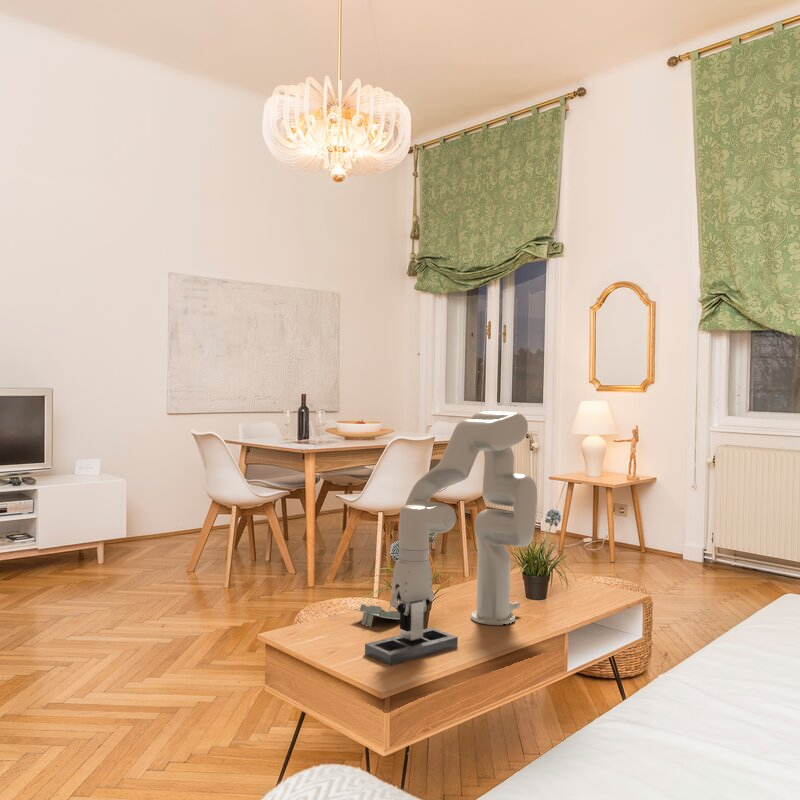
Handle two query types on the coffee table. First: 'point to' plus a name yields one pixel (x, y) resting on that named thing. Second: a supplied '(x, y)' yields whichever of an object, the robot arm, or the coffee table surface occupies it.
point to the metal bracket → (376, 614)
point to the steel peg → (415, 621)
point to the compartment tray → (404, 648)
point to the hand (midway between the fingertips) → (411, 627)
